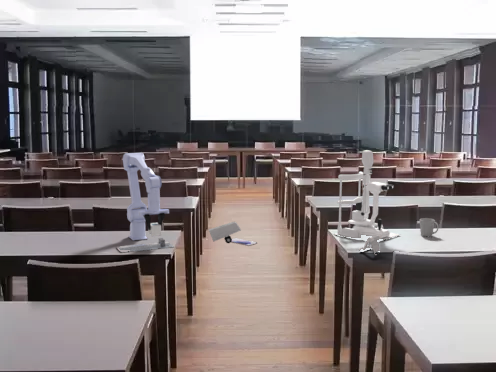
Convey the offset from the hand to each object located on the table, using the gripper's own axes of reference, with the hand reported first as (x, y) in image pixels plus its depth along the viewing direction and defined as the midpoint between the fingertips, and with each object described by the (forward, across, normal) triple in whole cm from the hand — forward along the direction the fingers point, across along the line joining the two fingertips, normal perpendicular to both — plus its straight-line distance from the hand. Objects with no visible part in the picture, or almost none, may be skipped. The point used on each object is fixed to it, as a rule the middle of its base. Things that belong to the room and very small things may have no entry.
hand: (154, 229), depth 285 cm
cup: (+9, +137, -38) cm, 142 cm away
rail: (+9, -5, 0) cm, 10 cm away
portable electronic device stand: (+9, +89, -53) cm, 104 cm away
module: (+3, 0, 0) cm, 3 cm away
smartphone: (+9, +42, -10) cm, 44 cm away
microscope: (+9, +108, -24) cm, 111 cm away
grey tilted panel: (+7, +28, -5) cm, 29 cm away
